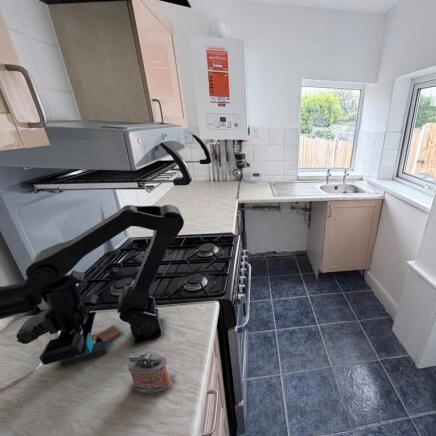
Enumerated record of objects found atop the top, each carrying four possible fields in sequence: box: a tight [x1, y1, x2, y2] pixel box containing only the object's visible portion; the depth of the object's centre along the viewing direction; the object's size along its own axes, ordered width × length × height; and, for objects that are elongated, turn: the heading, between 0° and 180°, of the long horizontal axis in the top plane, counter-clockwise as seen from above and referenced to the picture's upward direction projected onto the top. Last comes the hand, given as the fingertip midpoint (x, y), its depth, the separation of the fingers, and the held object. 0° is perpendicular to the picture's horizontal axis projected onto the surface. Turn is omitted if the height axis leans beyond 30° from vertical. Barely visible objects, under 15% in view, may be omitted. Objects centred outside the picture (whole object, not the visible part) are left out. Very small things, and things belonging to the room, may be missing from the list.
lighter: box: [126, 351, 172, 393], centre depth 52 cm, size 8×3×10 cm, turn 92°
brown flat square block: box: [97, 325, 122, 343], centre depth 66 cm, size 4×4×1 cm
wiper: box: [59, 334, 110, 367], centre depth 59 cm, size 9×3×6 cm, turn 116°
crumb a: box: [90, 333, 99, 344], centre depth 63 cm, size 4×4×1 cm
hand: (84, 348), depth 60 cm, fingers closed on wiper, 3 cm apart
